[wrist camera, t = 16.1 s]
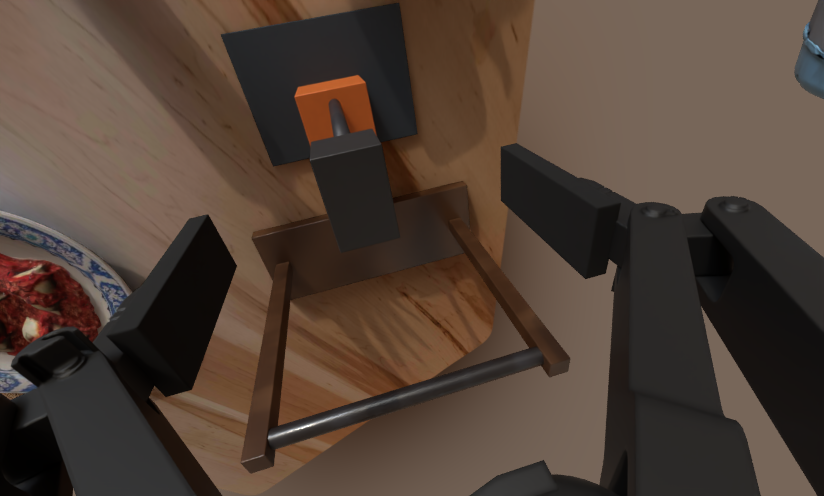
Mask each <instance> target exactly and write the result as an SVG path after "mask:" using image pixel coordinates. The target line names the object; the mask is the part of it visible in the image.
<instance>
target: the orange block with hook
mask: <svg viewBox="0 0 824 496" xmlns="http://www.w3.org/2000/svg"><path fill="white" fill-rule="evenodd" d="M295 100H296V103H297V106H298V109H299V113H300V116H301V119H302V122H303V125H304V128H305V131H306V134H307V137H308V140H309V143H310V147H311V149H310V163H311V166H312V169H313V172H314V175H315V178H316V181H317V184H318V187H319V190H320V193H321V196H322V199H323V202H324V205H325V208H326V211H327V214H328V217H329V220H330V223H331V226H332V229H333V232H334V235H335V238H336V241H337V244H338V247H339V250H340V252H341V253H343V252H347V251H351V250H355V249H359V248H363V247H366V246H370V245H374V244H378V243H382V242H386V241H390V240H394V239H397V238H400V232H399V227H398V223H397V218H396V213H395V208H394V203H393V198H392V193H391V188H390V183H389V178H388V173H387V168H386V163H385V158H384V154H383V149H382V144H381V143H380V141H379V139H378V137H377V134H376V129H375V124H374V120H373V115H372V110H371V105H370V100H369V96H368V91H367V86H366V82H365V81H364V80H363V79H362V78H361V77H360V76H359V75H356V76H351V77H346V78H341V79H336V80H331V81H326V82H321V83H316V84H311V85H306V86H301V87H298V89H297V91H296V94H295Z"/></svg>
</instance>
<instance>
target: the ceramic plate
mask: <svg viewBox="0 0 824 496" xmlns="http://www.w3.org/2000/svg"><path fill="white" fill-rule="evenodd" d="M131 293H132V291H131V290H130V288H129V287H128V286H127V284H126V283H125V282H124V280H123V279H122V278H121V277H120V276H119V275H118V274H117V272H116V271H115V270H114V269H113V268H112V267H110V266H109V265H108V264H107V263H106V262H105V261H104V260H102V259H101V258H100V257H98V256H97V255H96V254H94V253H93V252H92V251H90V250H89V249H87V248H86V247H84V246H83V245H81V244H80V243H78V242H76V241H74V240H72V239H71V238H69V237H67V236H65V235H63V234H61V233H59V232H57V231H55V230H53V229H51V228H49V227H46V226H44V225H41V224H39V223H37V222H34V221H31V220H29V219H26V218H23V217H20V216H17V215H14V214H10V213H7V212H3V211H0V393H27V392H30V391H32V390H34V389H36V388H38V387H36V386H35V385H34V384H33V383H31V382H30V381H29V380H27V379H26V378H25V377H23V376H22V375H21V374H19V373H18V372H17V371H15V370H14V369H13V368H12V367H11V363H12V360H13V359H14V358H15V356H16V355H17V354H18V353H19V352H20V351H21V350H22V349H24V348H25V347H26V346H27V345H28V344H30V343H32V342H33V341H35V340H36V339H38V338H40V337H41V336H43V335H45V334H48V333H50V332H52V331H54V330H57V329H60V328H64V327H72V326H74V327H76V328H78V329H79V330H80V331H81V332H82V333H83V334H84V335H85V336H86V337H87V338H88V339H89V340H90V341H91V342H93V341H94V340H95V338H96V337H97V336H98V334H99V333H100V332H101V330H102V329H103V328H104V326H105V325H106V324H107V322H110V318H111V317H112V315H113V314H114V313H115V312H117V311H116V310H117V309H118V307H119V306H120V305H121V303H122V302H123V301H124V299H126V298H127V297H128V296H129V295H130V294H131Z"/></svg>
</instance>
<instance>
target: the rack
mask: <svg viewBox="0 0 824 496" xmlns="http://www.w3.org/2000/svg"><path fill="white" fill-rule="evenodd" d="M393 203H394V208H395V213H396V218H397V223H398V227H399V232H400V238H397V239H394V240H390V241H386V242H382V243H378V244H374V245H370V246H366V247H363V248H359V249H355V250H351V251H347V252H343V253H341V252H340V250H339V247H338V244H337V241H336V238H335V235H334V232H333V229H332V226H331V223H330V220H329V217H328V214H325V215H321V216H317V217H313V218H309V219H305V220H301V221H297V222H293V223H289V224H284V225H280V226H276V227H272V228H268V229H264V230H260V231H256V232H253V235H252V240H253V242H254V244H255V246H256V248H257V250H258V252H259V254H260V256H261V258H262V260H263V262H264V264H265V266H266V268H267V270H268V272H269V274H270V276H271V278H272V280H273V284H272V290H271V296H270V301H269V307H268V312H267V318H266V324H265V329H264V335H263V340H262V346H261V352H260V357H259V363H258V368H257V374H256V380H255V385H254V391H253V396H252V402H251V407H250V413H249V419H248V424H247V430H246V435H245V441H244V447H243V452H242V458H241V464H242V465H243V466H244V467H245V468H246V469H247V470H248V472H249V473H254V472H257V471H260V470H264V469H267V468H270V467H273V466H274V458H275V449H278V448H281V447H285V446H288V445H291V444H294V443H297V442H300V441H304V440H307V439H310V438H313V437H316V436H319V435H323V434H326V433H329V432H332V431H335V430H338V429H342V428H345V427H348V426H351V425H354V424H357V423H360V422H364V421H367V420H370V419H373V418H376V417H379V416H383V415H386V414H389V413H392V412H395V411H398V410H401V409H405V408H408V407H411V406H414V405H417V404H420V403H424V402H426V401H430V400H433V399H436V398H439V397H442V396H446V395H449V394H452V393H455V392H458V391H461V390H465V389H467V388H471V387H474V386H477V385H480V384H484V383H487V382H490V381H493V380H496V379H499V378H503V377H506V376H509V375H512V374H515V373H518V372H521V371H525V370H528V369H531V368H534V367H537V366H540V365H541V366H542V367H543V369H544V370H545V372H546V373H547V375H548V376H549V377H552V376H555V375H558V374H562V373H565V372H567V371H568V369H569V363H570V357H569V356H568V355H567V353H566V352H565V351H564V350H563V348H562V347H561V346H560V345H559V343H558V342H557V341H556V340H555V338H554V337H553V336H552V335H551V333H550V332H549V330H548V329H547V328H546V327H545V325H544V324H543V323H542V322H541V320H540V319H539V318H538V317H537V315H536V314H535V313H534V311H533V310H532V309H531V307H530V306H529V305H528V304H527V302H526V301H525V300H524V299H523V297H522V296H521V295H520V293H519V292H518V291H517V290H516V288H515V287H514V286H513V284H512V283H511V282H510V281H509V279H508V278H507V277H506V276H505V274H504V273H503V272H502V270H501V269H500V268H499V267H498V265H497V264H496V263H495V261H494V260H493V259H492V258H491V256H490V255H489V254H488V252H487V251H486V250H485V249H484V247H483V246H482V245H481V244H480V242H479V241H478V240H477V238H476V237H475V236H474V235H473V233H472V232H471V231H470V223H469V208H468V192H467V185H466V184H465V183H464V182H463V181H461V182H457V183H452V184H448V185H444V186H440V187H436V188H432V189H428V190H424V191H420V192H416V193H411V194H407V195H403V196H399V197H395V198H393ZM463 253H465V254H466V255H467V257H468V258H469V260H470V261H471V263H472V264H473V266H474V267H475V269H476V270H477V272H478V273H479V274H480V276H481V277H482V279H483V280H484V282H485V283H486V285H487V286H488V288H489V289H490V291H491V292H492V294H493V295H494V297H495V298H496V300H497V301H498V303H499V304H500V305H501V307H502V308H503V310H504V311H505V313H506V314H507V316H508V317H509V319H510V320H511V322H512V323H513V324H514V326H515V328H516V329H517V330H518V332H519V333H520V335H521V336H522V338H523V339H524V341H525V342H526V344H527V345H528V347H529V349H526V350H522V351H519V352H516V353H513V354H509V355H506V356H503V357H500V358H496V359H493V360H490V361H487V362H484V363H481V364H477V365H474V366H471V367H467V368H464V369H461V370H458V371H455V372H451V373H448V374H445V375H442V376H438V377H435V378H432V379H429V380H425V381H422V382H419V383H416V384H412V385H409V386H406V387H403V388H399V389H396V390H393V391H390V392H387V393H383V394H380V395H377V396H374V397H370V398H367V399H364V400H361V401H357V402H354V403H351V404H348V405H344V406H341V407H338V408H335V409H332V410H328V411H325V412H322V413H319V414H315V415H312V416H309V417H306V418H302V419H299V420H296V421H293V422H290V423H286V424H283V425H280V426H278V418H279V408H280V398H281V389H282V379H283V369H284V359H285V349H286V339H287V329H288V319H289V309H290V300H292V299H296V298H300V297H304V296H307V295H311V294H315V293H318V292H322V291H326V290H330V289H333V288H337V287H341V286H344V285H348V284H352V283H356V282H359V281H363V280H367V279H370V278H374V277H378V276H382V275H385V274H389V273H393V272H396V271H400V270H404V269H408V268H411V267H415V266H419V265H422V264H426V263H430V262H434V261H437V260H441V259H445V258H448V257H452V256H456V255H460V254H463Z"/></svg>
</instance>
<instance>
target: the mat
mask: <svg viewBox="0 0 824 496" xmlns="http://www.w3.org/2000/svg"><path fill="white" fill-rule="evenodd" d="M221 37H222V39H223V42H224V44H225V47H226V49H227V52H228V54H229V57H230V59H231V62H232V64H233V67H234V69H235V72H236V74H237V77H238V79H239V82H240V84H241V87H242V89H243V92H244V94H245V97H246V99H247V102H248V104H249V107H250V109H251V112H252V114H253V117H254V119H255V122H256V124H257V127H258V129H259V132H260V134H261V137H262V139H263V142H264V144H265V147H266V149H267V152H268V154H269V157H270V159H271V162H272V164H273V166H277V165H282V164H286V163H291V162H295V161H299V160H304V159H308V158H310V149H311V147H310V143H309V140H308V137H307V134H306V131H305V128H304V125H303V122H302V119H301V116H300V113H299V109H298V106H297V103H296V100H295V94H296V91H297V89H298V87H301V86H306V85H311V84H316V83H321V82H326V81H331V80H336V79H341V78H346V77H351V76H356V75H359V76H360V77H361V78H362V79H363V80H364V81H365V82H366V86H367V91H368V96H369V100H370V105H371V110H372V115H373V120H374V124H375V129H376V134H377V137H378V139H379V141H380V142H384V141H389V140H393V139H398V138H402V137H406V136H411V135H415V134H417V127H416V120H415V112H414V105H413V98H412V91H411V84H410V77H409V70H408V63H407V55H406V48H405V41H404V34H403V27H402V20H401V13H400V6H399V3H395V4H389V5H383V6H378V7H372V8H367V9H361V10H355V11H350V12H344V13H339V14H333V15H327V16H322V17H316V18H311V19H305V20H299V21H294V22H288V23H282V24H277V25H271V26H266V27H260V28H254V29H249V30H243V31H238V32H232V33H226V34H221Z"/></svg>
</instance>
